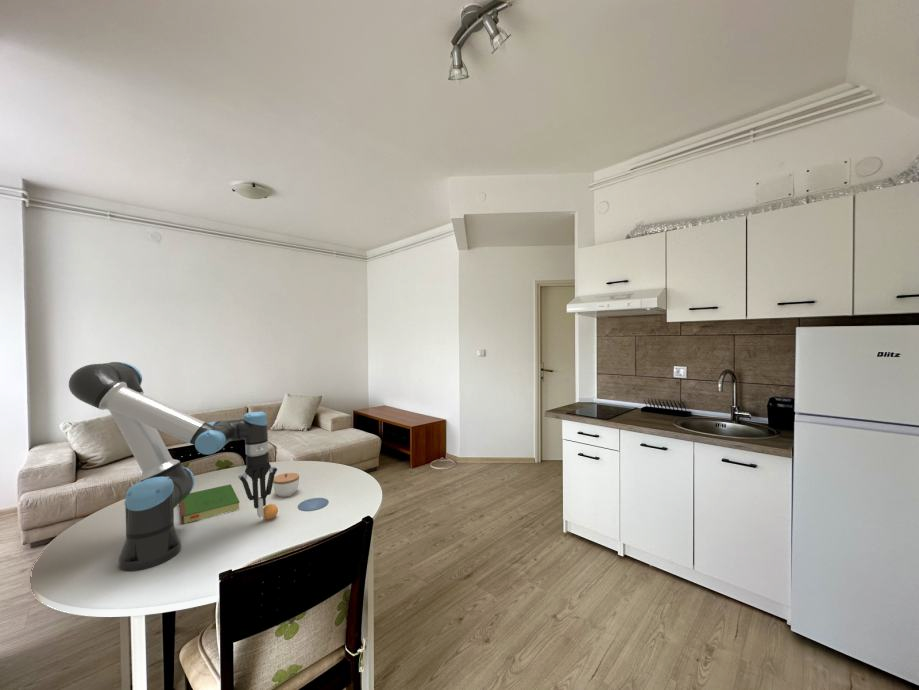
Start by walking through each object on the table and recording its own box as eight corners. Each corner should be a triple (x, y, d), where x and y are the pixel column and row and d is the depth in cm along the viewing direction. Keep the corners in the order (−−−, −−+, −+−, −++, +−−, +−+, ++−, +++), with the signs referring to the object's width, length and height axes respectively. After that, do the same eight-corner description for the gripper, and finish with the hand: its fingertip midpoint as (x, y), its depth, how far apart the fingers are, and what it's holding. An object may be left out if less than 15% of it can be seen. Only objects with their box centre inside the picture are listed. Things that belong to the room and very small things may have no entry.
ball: (261, 515, 136) (274, 503, 139) (256, 510, 140) (269, 498, 143) (270, 524, 138) (282, 512, 141) (265, 519, 142) (277, 507, 145)
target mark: (304, 514, 144) (304, 513, 144) (293, 504, 153) (293, 504, 153) (333, 504, 153) (333, 503, 153) (320, 495, 161) (320, 495, 161)
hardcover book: (179, 504, 155) (179, 495, 155) (230, 492, 167) (230, 484, 167) (182, 527, 136) (182, 517, 136) (240, 511, 148) (239, 502, 148)
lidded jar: (304, 489, 168) (303, 469, 168) (291, 499, 157) (290, 478, 157) (282, 489, 169) (281, 468, 169) (267, 499, 158) (267, 477, 158)
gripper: (240, 460, 130) (243, 525, 130) (279, 451, 139) (282, 512, 139) (235, 455, 135) (238, 518, 136) (272, 447, 144) (275, 506, 145)
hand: (260, 515), depth 138 cm, fingers closed
